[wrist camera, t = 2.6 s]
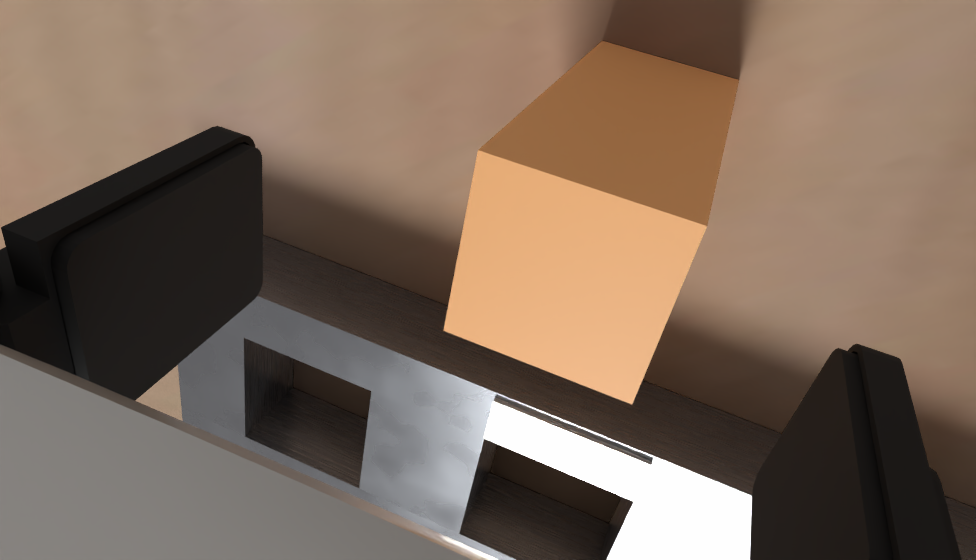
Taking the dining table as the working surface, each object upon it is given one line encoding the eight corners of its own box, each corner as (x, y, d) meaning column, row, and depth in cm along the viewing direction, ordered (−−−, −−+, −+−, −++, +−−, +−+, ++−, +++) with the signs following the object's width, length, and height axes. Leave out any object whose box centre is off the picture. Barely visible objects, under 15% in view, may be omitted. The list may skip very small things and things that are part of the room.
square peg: (739, 80, 19) (707, 226, 11) (689, 205, 21) (632, 404, 13) (602, 40, 20) (478, 150, 12) (567, 165, 22) (443, 330, 14)
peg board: (1068, 543, 22) (1113, 647, 19) (906, 693, 28) (922, 791, 25) (230, 222, 28) (165, 262, 25) (234, 396, 34) (181, 446, 31)
